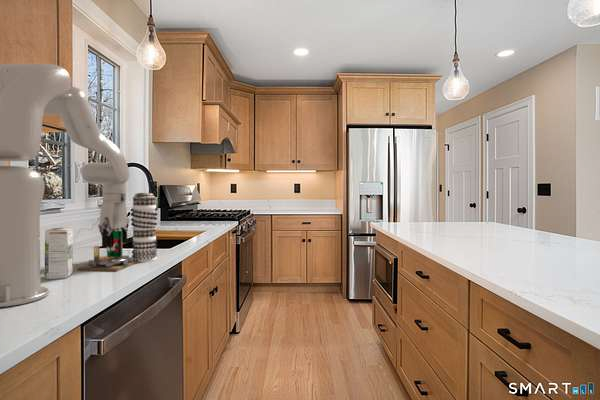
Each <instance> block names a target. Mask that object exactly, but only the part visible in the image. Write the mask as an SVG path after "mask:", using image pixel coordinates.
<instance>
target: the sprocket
mask: <svg viewBox="0 0 600 400" xmlns="http://www.w3.org/2000/svg"><path fill="white" fill-rule="evenodd" d="M132 261H133V257H132V256H130V255H126V254H125V255H122V256H115V255H114V256H107V255H106V256H105V255H103V256H100V245H95V246H94V245H93V259H89V260H88V262H87V265H92V267H97V266H106V267H111V266H114V265H121V264H122V265H125V264H128V262H132Z"/></svg>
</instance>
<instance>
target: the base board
mask: <svg viewBox="0 0 600 400" xmlns="http://www.w3.org/2000/svg"><path fill="white" fill-rule="evenodd" d="M138 263H139V262H138V260H133V261H132V262H128V264H125V265H122V264H121V265H114V266H111V267H106V266H97V267H92V265H88V264H86V265H83V266H80V267H77V268H76V269H77V271H78V272H79V271H80V272H81V271H82V272H119V271H121V270H124V269H126V268H128V267H131V266H133V265H136V264H138Z"/></svg>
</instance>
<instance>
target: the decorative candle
mask: <svg viewBox="0 0 600 400" xmlns="http://www.w3.org/2000/svg"><path fill="white" fill-rule="evenodd" d="M158 210H159V209H158V208H157V205H156V196H155V194H154V193H152V192H136V193H135V194H134V196H133V197H132V208H131V209H130V212H131V213H130V216H131V217H132V218H130V220H131V226H132V227H131V229H132V231H133V232H132V233H133V234H132V241H131V245H132V246H131V248H132V251H131V254H132V255H131V257H133V260H138V263H147V262H153V261H156V260H158V259H157V251H158V249H157V246H158V245H157V243H158V241H157V236H156V229H158V228H157V225H158V223H157V222H156V221H157V220H158V217H157V216H158V213H157V211H158Z"/></svg>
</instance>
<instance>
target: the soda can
mask: <svg viewBox="0 0 600 400" xmlns="http://www.w3.org/2000/svg"><path fill="white" fill-rule="evenodd" d="M107 231H108V230H107ZM110 236H112V246H111V247H106V256H114V255H115V256H123V242H122V230H121V228H118V229H114V230H112V232H111V234H110Z"/></svg>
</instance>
